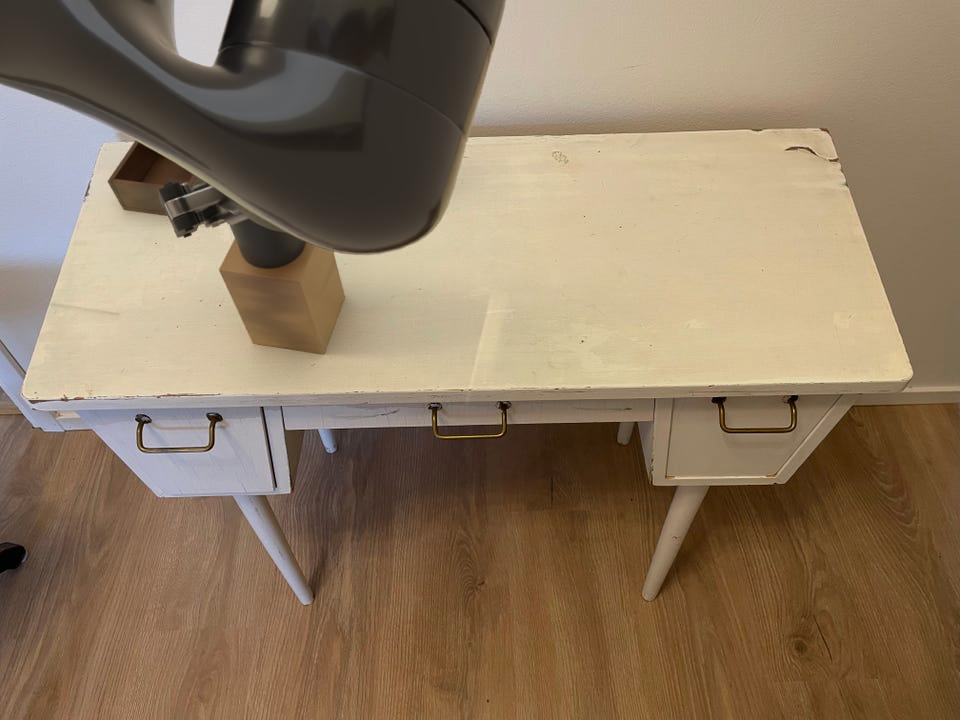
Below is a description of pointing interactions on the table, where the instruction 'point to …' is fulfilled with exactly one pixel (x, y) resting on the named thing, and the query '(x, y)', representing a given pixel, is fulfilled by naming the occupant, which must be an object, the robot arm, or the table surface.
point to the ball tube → (266, 245)
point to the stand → (287, 298)
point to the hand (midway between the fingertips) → (273, 187)
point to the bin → (146, 179)
